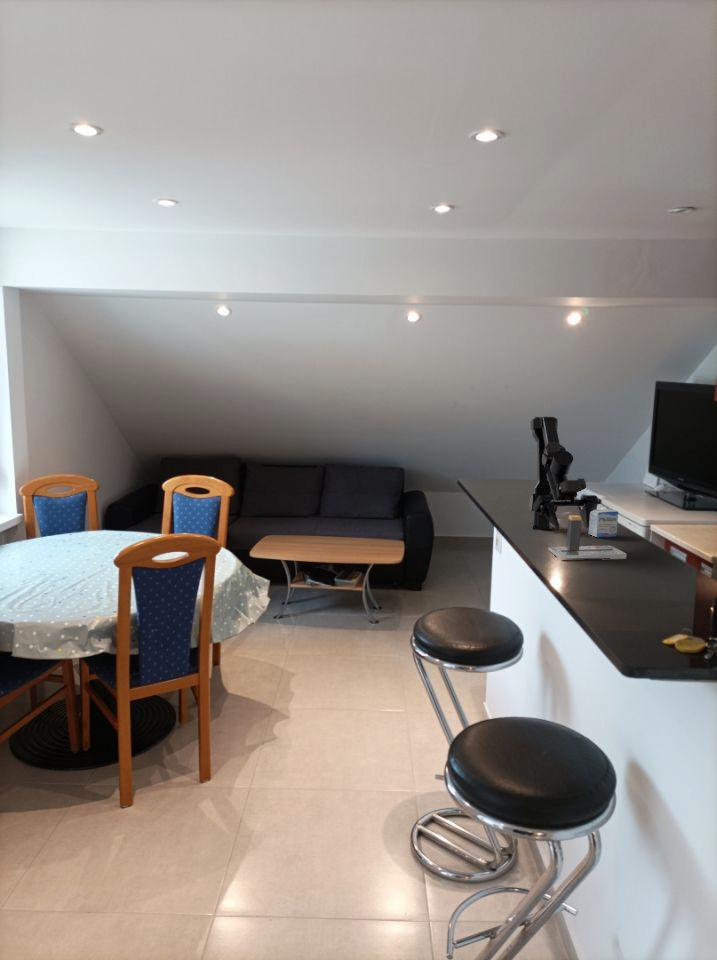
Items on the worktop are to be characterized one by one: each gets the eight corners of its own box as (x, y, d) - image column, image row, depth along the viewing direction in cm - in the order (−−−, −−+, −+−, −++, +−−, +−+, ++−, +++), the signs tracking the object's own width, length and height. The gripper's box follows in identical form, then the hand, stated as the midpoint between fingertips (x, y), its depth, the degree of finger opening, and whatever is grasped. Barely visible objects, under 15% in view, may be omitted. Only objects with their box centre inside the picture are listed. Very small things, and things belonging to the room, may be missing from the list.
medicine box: (596, 538, 212) (598, 512, 211) (587, 535, 216) (589, 509, 215) (616, 537, 214) (618, 511, 213) (608, 533, 218) (610, 508, 217)
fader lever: (569, 550, 191) (571, 517, 189) (566, 548, 193) (568, 515, 191) (579, 550, 191) (581, 516, 189) (575, 548, 193) (578, 515, 191)
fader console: (561, 560, 187) (561, 555, 187) (548, 551, 196) (548, 546, 196) (626, 558, 190) (626, 553, 189) (610, 550, 198) (611, 545, 198)
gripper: (539, 469, 193) (552, 513, 184) (598, 468, 195) (614, 512, 186) (527, 490, 202) (539, 533, 193) (584, 489, 204) (598, 532, 195)
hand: (573, 527), depth 191 cm, fingers open, 9 cm apart
